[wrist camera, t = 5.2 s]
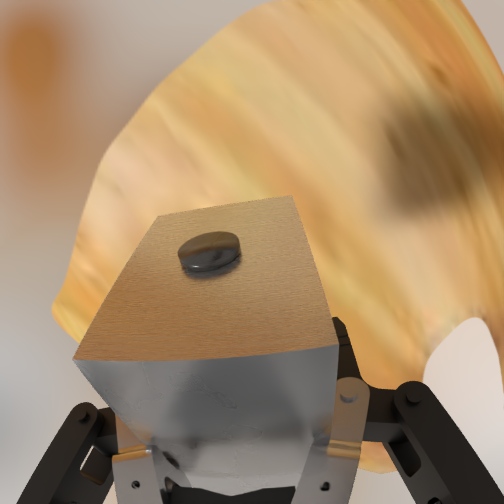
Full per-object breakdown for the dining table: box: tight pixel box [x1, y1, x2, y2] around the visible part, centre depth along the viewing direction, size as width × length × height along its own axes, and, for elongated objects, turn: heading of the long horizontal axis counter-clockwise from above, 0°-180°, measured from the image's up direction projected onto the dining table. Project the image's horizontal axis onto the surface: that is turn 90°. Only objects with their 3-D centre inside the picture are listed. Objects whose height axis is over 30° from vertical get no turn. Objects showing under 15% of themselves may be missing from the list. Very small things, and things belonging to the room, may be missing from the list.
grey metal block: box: [72, 195, 339, 496], centre depth 10 cm, size 10×5×7 cm, turn 9°
